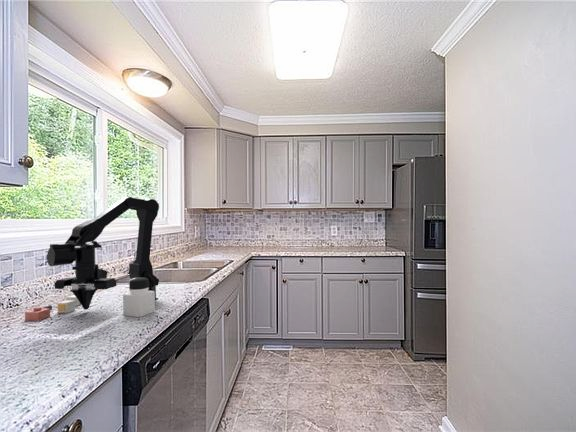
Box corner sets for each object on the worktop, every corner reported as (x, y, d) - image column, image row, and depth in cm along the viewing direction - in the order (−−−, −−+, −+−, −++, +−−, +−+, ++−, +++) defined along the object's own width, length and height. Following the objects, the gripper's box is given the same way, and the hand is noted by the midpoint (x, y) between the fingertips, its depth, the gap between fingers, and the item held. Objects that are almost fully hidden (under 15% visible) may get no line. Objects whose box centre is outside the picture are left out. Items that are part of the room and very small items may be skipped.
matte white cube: (75, 309, 116) (74, 300, 116) (66, 313, 112) (66, 303, 112) (65, 309, 117) (65, 300, 117) (56, 312, 113) (56, 303, 113)
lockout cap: (50, 321, 109) (50, 306, 109) (38, 325, 105) (37, 309, 105) (37, 320, 110) (37, 305, 110) (25, 325, 105) (24, 309, 105)
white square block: (82, 303, 125) (82, 295, 125) (75, 306, 121) (75, 297, 121) (73, 303, 125) (73, 294, 125) (66, 306, 122) (66, 297, 122)
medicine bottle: (155, 311, 117) (154, 276, 117) (140, 317, 111) (139, 280, 111) (138, 310, 120) (138, 275, 120) (122, 315, 113) (122, 279, 113)
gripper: (126, 259, 120) (126, 303, 120) (78, 259, 123) (79, 302, 123) (104, 263, 109) (105, 312, 109) (52, 263, 112) (53, 311, 112)
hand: (86, 309), depth 114 cm, fingers closed
